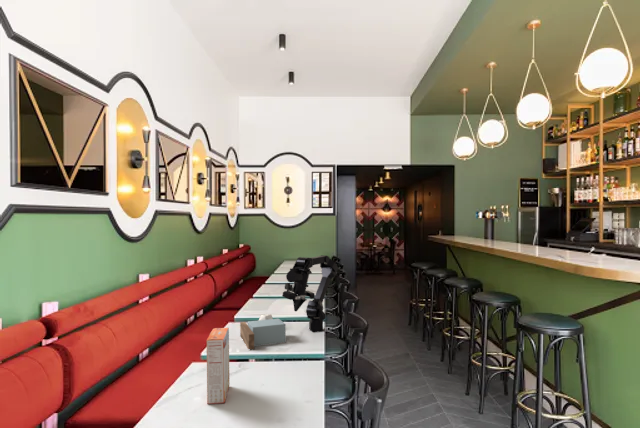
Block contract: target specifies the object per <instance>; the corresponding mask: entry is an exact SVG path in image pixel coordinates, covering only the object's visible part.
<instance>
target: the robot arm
mask: <svg viewBox="0 0 640 428" xmlns="http://www.w3.org/2000/svg"><path fill="white" fill-rule="evenodd" d="M315 265H320V268H321V275H322V277H321V279H320V282H319V285H318V288H317V290H316V292H315V293H314V292H313V291H310V290H307V288H308V287H309V286H310V285H309V284H308V281H309V279H310V278H309V276H310V274H313V273H312V270H311V269H312V268H314V267H313V266H315ZM338 270H339V267H338V265H337V264H336V262H335V261H334V260H332V259H331V257H330V256H329V255H325V254H324V255H323V254H320V255H317V256H311V257H307V256H306V257H304V256H303V257H302V256H299V257H297V259H296V261H295V263H294V264H293V266H292V267H291V268H289V271H288V272H287V273H286V276H285V277H286V281H287V282H285V284H284V290H283V292H282V295H281V297H283V298H285V299H287V300H290V301H292V303H293V309H294V310H293V311H294V312H298V311H299V309H300V308H301V306H303V304H304V303H305V302H306V301H307V299H306V297H308V298H309V299H311V300H308V303H307V305H306V309H305V313H306V316H307V317H306V318H307V319H309V322H308V327H309V328H308V330H309V329H310V330H309V331H311V332H312V333H316V332H317V331H319V332H324V331H325V329H324V322H323V321H325V319H326V318H327V317H326V316H327V314H326V313H325V311H324V305H323V302H324V299H325V296H326V294H327V291H328V288H329V285H330V282H331V280H332V279H333V278H334V277H336V275H337V272H338ZM291 283H293V284H291ZM317 333H318V332H317Z"/></svg>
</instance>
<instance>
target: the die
mask: <svg viewBox="0 0 640 428" xmlns="http://www.w3.org/2000/svg"><path fill="white" fill-rule="evenodd" d="M268 319H274V318H273V316H272V314H267V313H266V314H261V315H260V317H259V319H258V320H268Z"/></svg>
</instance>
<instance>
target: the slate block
mask: <svg viewBox="0 0 640 428" xmlns="http://www.w3.org/2000/svg"><path fill="white" fill-rule="evenodd" d="M247 325H248V326H249V328H250V329H251V330H252V332H253V333H254V347H257V346H258V345H259V346H266V345H272V344H273V345H274V344H282V342H283V343H286V341H287V340H286V334H287V333H286V331H287V330H286V323H285V322H284V321H282V320H281V319H280V318H273V319H268V320H259V319H258V320H250V321H249V320H248V321H247ZM259 346H258V347H259Z"/></svg>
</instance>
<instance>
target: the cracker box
mask: <svg viewBox="0 0 640 428" xmlns="http://www.w3.org/2000/svg"><path fill="white" fill-rule="evenodd" d="M205 344H206V394H207V395H206V396H207V398H206V400H207V405H215V404H225V402H226V400H227V395H228V392H229V389H230V329H229V327H215V328H212V330H211V332H210V333H209V335H208V337H207V339H206V343H205Z"/></svg>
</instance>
